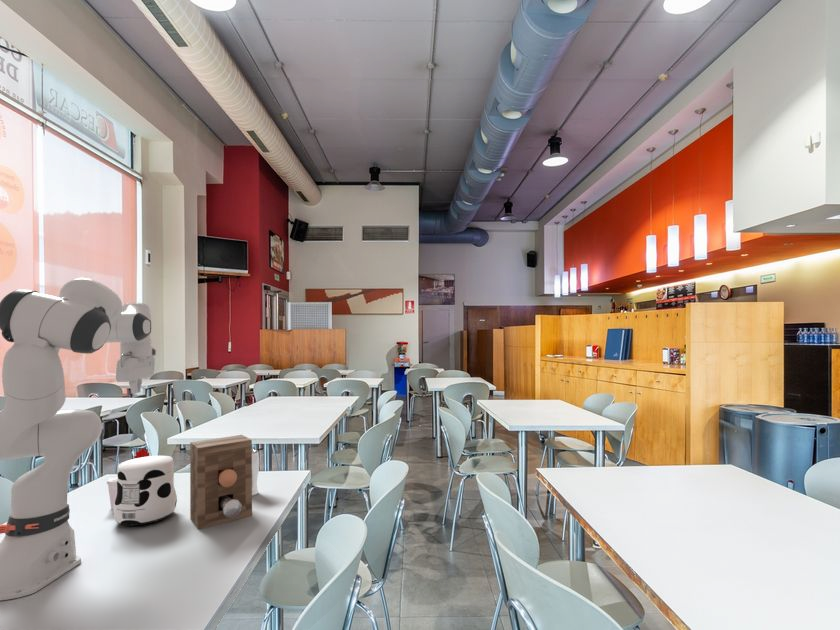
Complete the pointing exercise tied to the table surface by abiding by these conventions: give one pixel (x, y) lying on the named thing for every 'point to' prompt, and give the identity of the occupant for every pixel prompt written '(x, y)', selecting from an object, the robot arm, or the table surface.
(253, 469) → the white hollow cylinder
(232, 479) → the terracotta plug
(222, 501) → the grey plug
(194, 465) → the box
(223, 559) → the table surface
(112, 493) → the smoothie
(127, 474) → the milk container
